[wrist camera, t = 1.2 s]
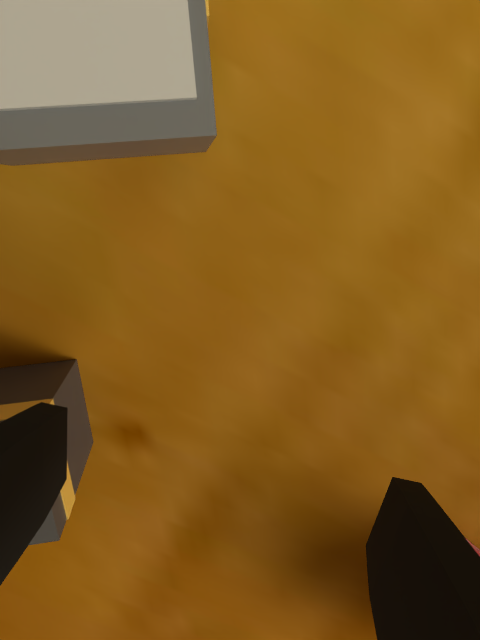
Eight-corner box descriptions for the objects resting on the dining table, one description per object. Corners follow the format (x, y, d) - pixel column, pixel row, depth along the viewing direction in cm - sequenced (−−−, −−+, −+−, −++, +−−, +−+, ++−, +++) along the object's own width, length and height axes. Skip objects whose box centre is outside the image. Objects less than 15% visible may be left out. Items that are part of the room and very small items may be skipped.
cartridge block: (9, 454, 22) (-59, 560, 15) (-14, 368, 20) (-98, 447, 14) (94, 442, 22) (60, 541, 16) (77, 358, 21) (34, 429, 15)
